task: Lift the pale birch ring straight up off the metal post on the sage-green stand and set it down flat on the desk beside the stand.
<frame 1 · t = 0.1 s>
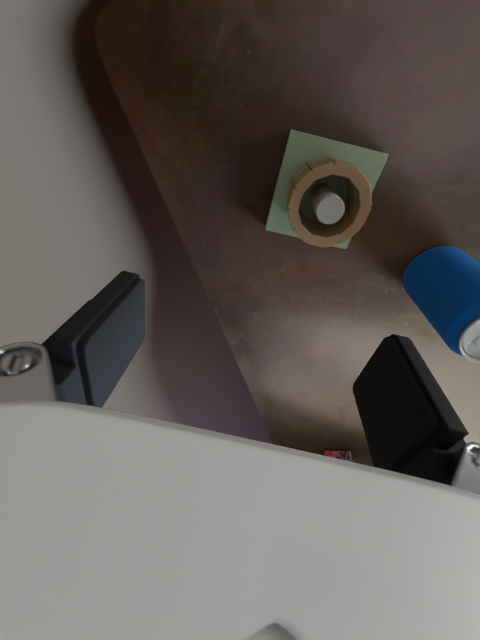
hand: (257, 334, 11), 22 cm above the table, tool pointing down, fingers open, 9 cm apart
beverage can: (430, 270, 31), on the table
ring: (321, 195, 27), point 1 cm above the table, touching post stand
post stand: (319, 193, 28), on the table
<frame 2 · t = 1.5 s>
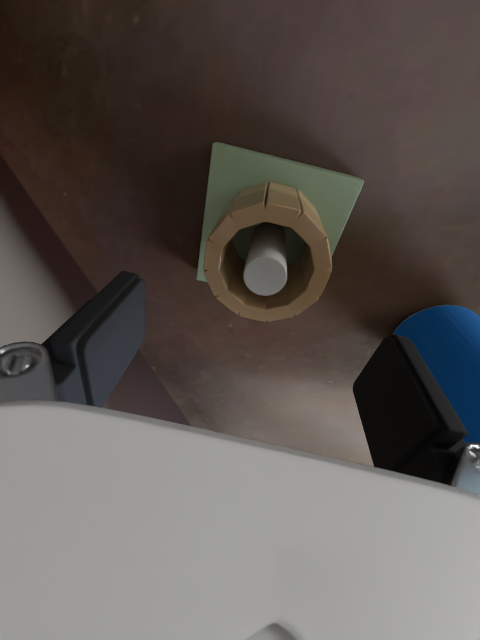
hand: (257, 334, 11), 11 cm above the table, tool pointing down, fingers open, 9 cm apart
beverage can: (428, 331, 23), on the table
ring: (268, 237, 18), point 1 cm above the table, touching post stand
post stand: (269, 231, 19), on the table
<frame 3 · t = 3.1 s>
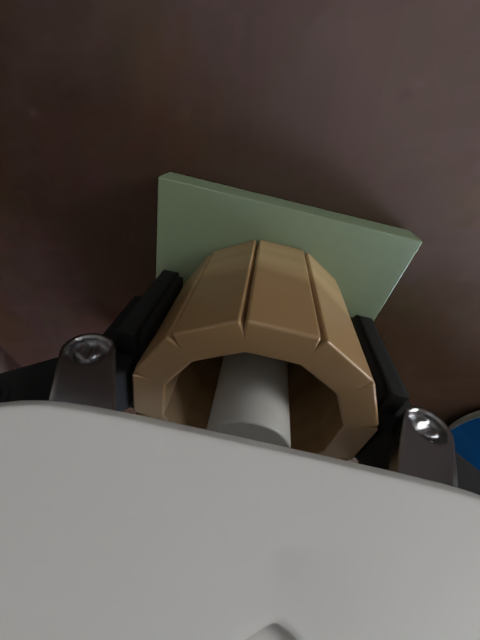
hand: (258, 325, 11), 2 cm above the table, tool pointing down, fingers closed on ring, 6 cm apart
ring: (259, 317, 12), point 1 cm above the table, touching gripper, post stand
post stand: (260, 303, 13), on the table
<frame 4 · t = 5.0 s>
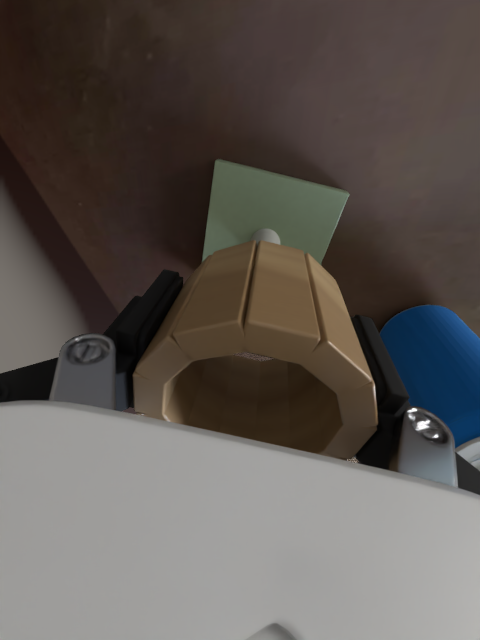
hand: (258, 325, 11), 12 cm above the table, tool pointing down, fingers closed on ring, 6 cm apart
beverage can: (413, 329, 25), on the table
ring: (259, 317, 12), point 12 cm above the table, touching gripper
post stand: (265, 238, 21), on the table
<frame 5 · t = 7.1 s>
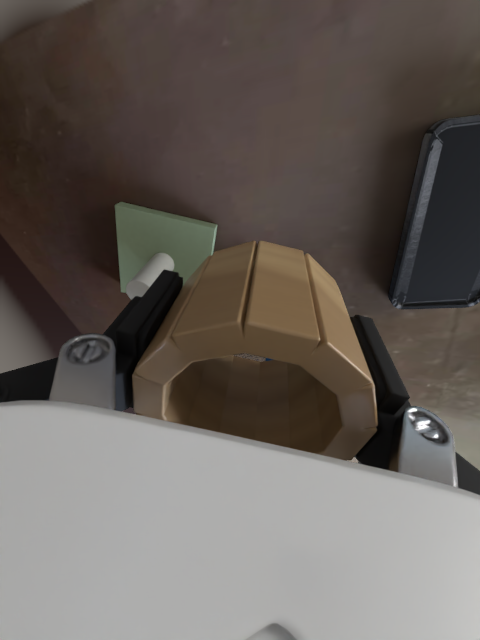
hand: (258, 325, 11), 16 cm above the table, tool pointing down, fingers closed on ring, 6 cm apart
ring: (259, 318, 12), point 16 cm above the table, touching gripper
post stand: (167, 258, 28), on the table
phone: (452, 224, 23), on the table
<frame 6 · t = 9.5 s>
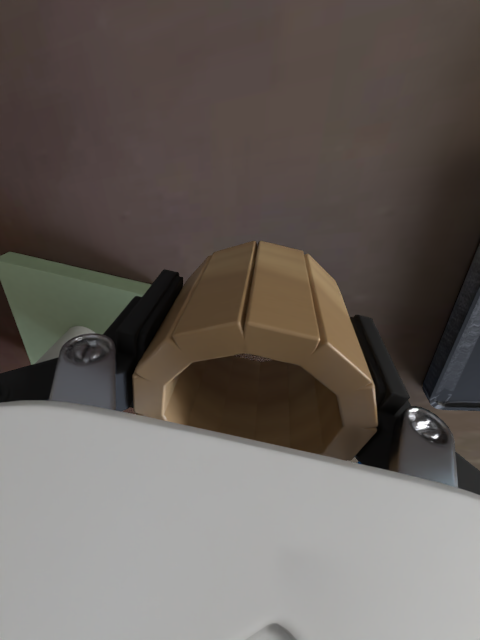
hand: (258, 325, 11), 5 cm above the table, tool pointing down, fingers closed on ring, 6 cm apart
ring: (259, 318, 12), point 4 cm above the table, touching gripper
post stand: (95, 327, 19), on the table
when the fingers open (0 cm above the table, at t = 11.1 s): ring stays where it is, on the table.
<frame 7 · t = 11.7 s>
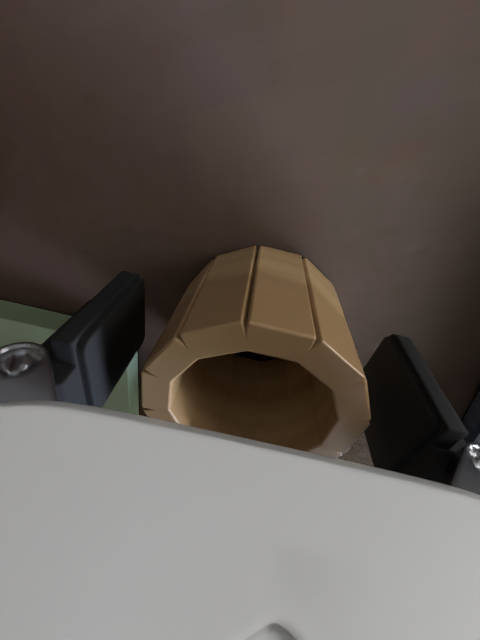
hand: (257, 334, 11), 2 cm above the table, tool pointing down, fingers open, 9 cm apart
ring: (259, 319, 12), on the table
post stand: (62, 372, 16), on the table
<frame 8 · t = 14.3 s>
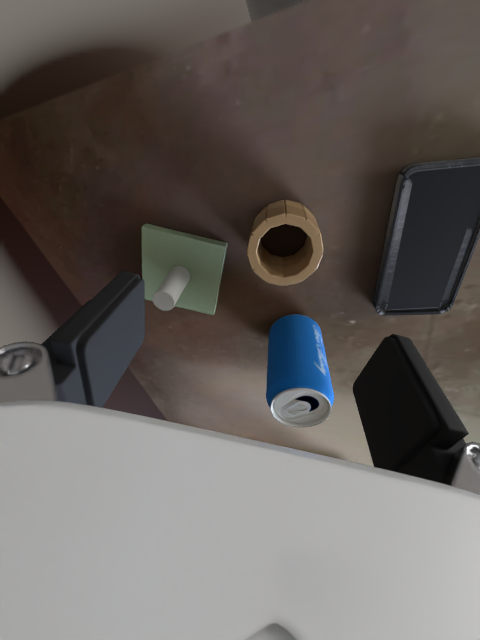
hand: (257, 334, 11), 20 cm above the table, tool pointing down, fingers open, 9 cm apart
beverage can: (294, 330, 36), on the table
ring: (283, 234, 29), on the table
post stand: (183, 270, 32), on the table
phone: (424, 245, 28), on the table
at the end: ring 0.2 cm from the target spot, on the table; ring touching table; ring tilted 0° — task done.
